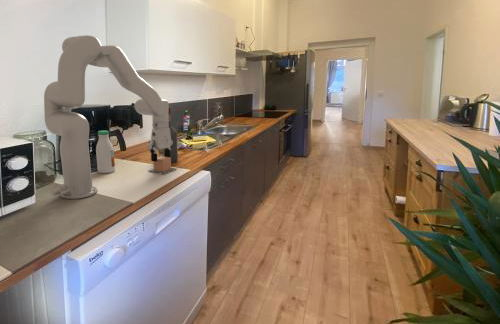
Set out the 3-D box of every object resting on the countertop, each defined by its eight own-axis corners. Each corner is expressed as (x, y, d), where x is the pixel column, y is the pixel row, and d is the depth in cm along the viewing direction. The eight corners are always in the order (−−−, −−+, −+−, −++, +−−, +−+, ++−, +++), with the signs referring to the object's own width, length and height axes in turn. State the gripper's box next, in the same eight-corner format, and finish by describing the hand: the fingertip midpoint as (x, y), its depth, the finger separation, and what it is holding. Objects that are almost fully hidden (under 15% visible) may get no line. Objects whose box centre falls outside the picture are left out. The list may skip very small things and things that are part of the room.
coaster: (164, 174, 149) (164, 173, 149) (148, 171, 153) (147, 170, 153) (176, 169, 158) (176, 168, 158) (161, 167, 162) (161, 165, 162)
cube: (163, 171, 151) (162, 159, 150) (153, 170, 154) (153, 158, 152) (171, 168, 157) (170, 157, 155) (161, 167, 159) (161, 156, 158)
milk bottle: (108, 174, 146) (105, 132, 141) (94, 172, 148) (90, 131, 143) (118, 170, 154) (115, 130, 149) (104, 168, 155) (101, 129, 150)
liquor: (170, 158, 181) (169, 106, 173) (180, 161, 175) (178, 108, 168) (156, 160, 174) (154, 107, 167) (166, 164, 168) (164, 108, 161)
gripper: (154, 127, 140) (154, 163, 144) (177, 124, 156) (177, 157, 160) (141, 125, 143) (142, 161, 147) (166, 123, 159) (166, 155, 162)
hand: (160, 159), depth 153 cm, fingers open, 9 cm apart
